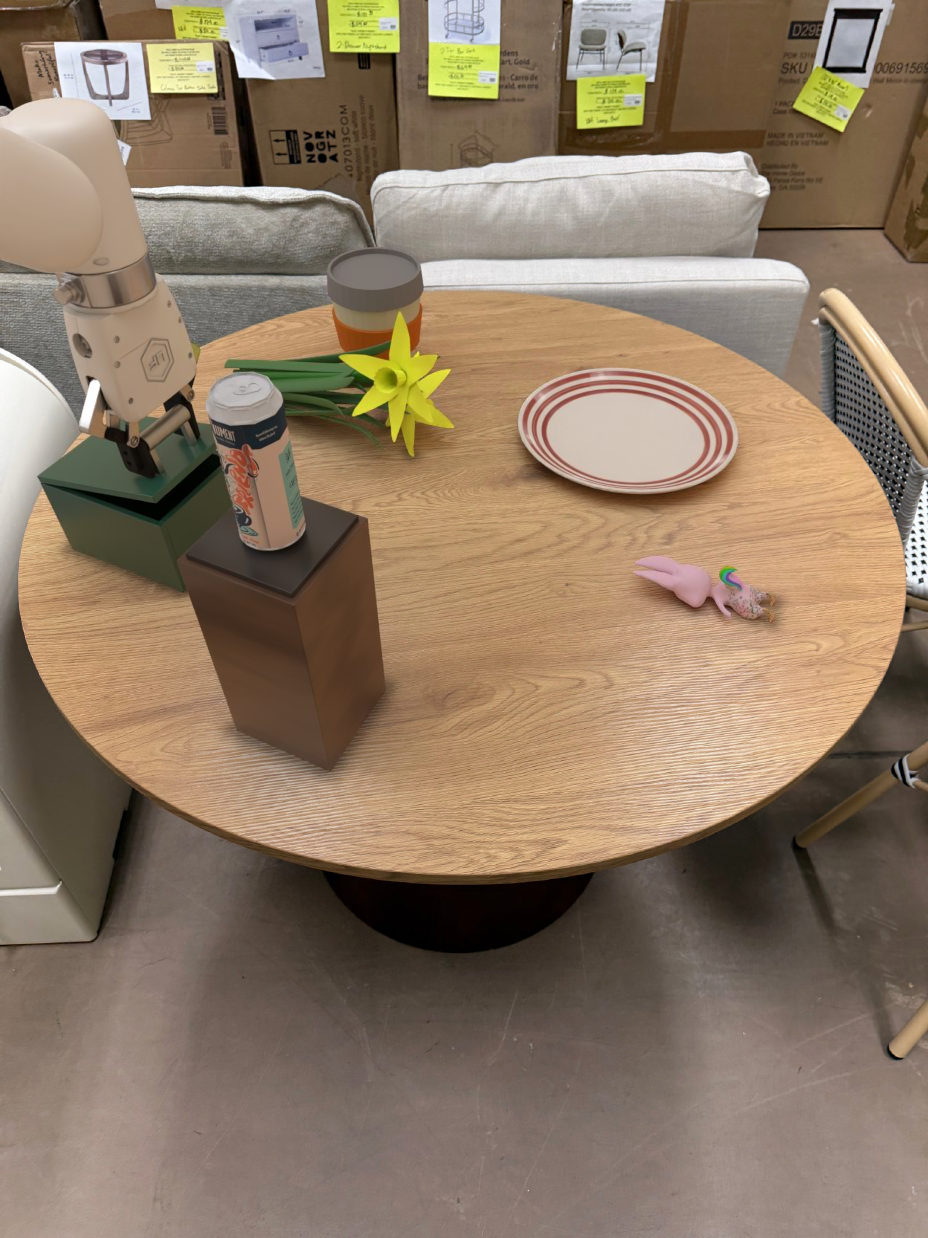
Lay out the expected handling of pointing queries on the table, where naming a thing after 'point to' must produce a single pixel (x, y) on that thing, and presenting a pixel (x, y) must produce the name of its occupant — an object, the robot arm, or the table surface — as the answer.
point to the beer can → (256, 459)
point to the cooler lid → (106, 473)
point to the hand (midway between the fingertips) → (164, 452)
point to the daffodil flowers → (359, 385)
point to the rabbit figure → (705, 586)
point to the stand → (292, 630)
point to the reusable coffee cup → (375, 296)
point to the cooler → (144, 522)
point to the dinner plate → (628, 430)
